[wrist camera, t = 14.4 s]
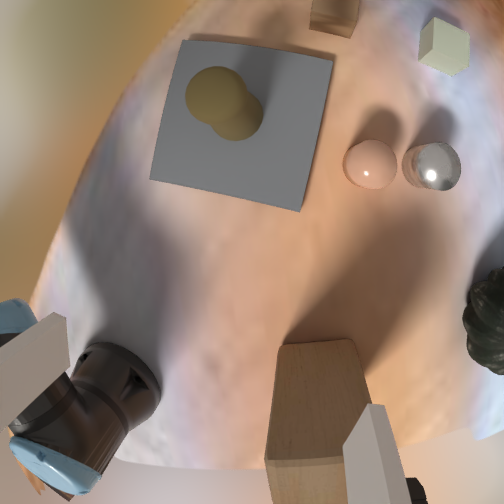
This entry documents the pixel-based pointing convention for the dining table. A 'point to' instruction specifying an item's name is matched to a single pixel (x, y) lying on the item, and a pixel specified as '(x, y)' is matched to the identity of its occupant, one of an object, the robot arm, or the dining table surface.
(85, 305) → the dining table surface
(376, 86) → the dining table surface
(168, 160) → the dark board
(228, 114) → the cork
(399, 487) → the robot arm
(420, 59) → the sage block
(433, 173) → the metal tin
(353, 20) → the walnut block
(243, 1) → the dining table surface
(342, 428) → the wooden block
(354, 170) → the peach rounded capsule
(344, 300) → the dining table surface
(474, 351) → the squash
